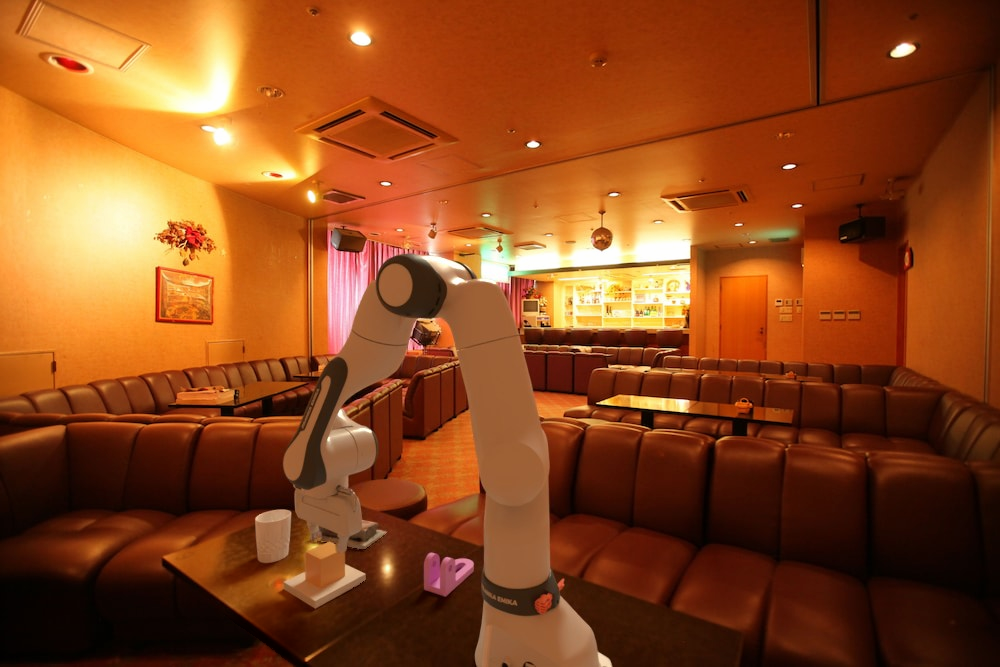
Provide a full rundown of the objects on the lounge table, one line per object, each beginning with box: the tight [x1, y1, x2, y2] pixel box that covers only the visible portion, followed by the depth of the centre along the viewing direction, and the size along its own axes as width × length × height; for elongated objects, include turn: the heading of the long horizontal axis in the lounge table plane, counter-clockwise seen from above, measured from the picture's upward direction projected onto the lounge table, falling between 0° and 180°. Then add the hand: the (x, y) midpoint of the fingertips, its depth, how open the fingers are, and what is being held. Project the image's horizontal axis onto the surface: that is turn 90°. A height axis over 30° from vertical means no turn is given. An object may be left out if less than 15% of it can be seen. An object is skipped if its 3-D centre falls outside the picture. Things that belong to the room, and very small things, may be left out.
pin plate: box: [282, 563, 367, 610], centre depth 94 cm, size 12×12×6 cm
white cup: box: [254, 509, 292, 564], centre depth 106 cm, size 8×8×10 cm
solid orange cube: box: [304, 542, 346, 588], centre depth 94 cm, size 6×6×6 cm
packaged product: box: [309, 519, 388, 550], centre depth 117 cm, size 18×5×10 cm
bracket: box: [423, 552, 475, 598], centre depth 96 cm, size 13×6×7 cm, turn 152°
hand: (328, 546), depth 94 cm, fingers open, 8 cm apart
